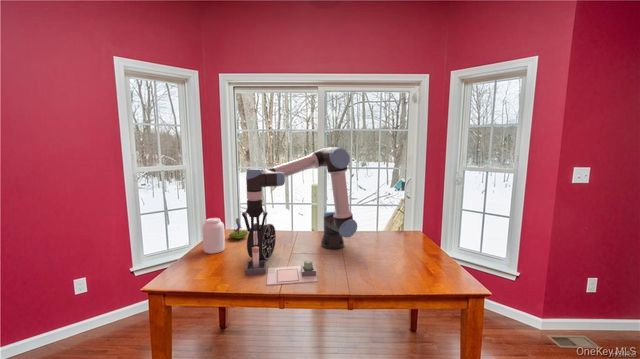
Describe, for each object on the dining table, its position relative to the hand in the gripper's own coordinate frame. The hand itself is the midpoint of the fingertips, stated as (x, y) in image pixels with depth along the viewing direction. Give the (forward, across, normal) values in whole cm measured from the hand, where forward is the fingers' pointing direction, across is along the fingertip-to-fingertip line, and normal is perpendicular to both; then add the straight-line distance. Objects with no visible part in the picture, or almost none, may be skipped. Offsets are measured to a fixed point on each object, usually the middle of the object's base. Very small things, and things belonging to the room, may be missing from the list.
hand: (255, 243), depth 139 cm
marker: (+14, 0, 0) cm, 14 cm away
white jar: (+15, +28, -32) cm, 45 cm away
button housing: (+14, -26, +8) cm, 31 cm away
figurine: (+15, +16, -52) cm, 57 cm away
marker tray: (+14, 0, 0) cm, 14 cm away
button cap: (+12, -27, +8) cm, 30 cm away
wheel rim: (+15, -2, -17) cm, 22 cm away
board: (+14, -18, +8) cm, 24 cm away
